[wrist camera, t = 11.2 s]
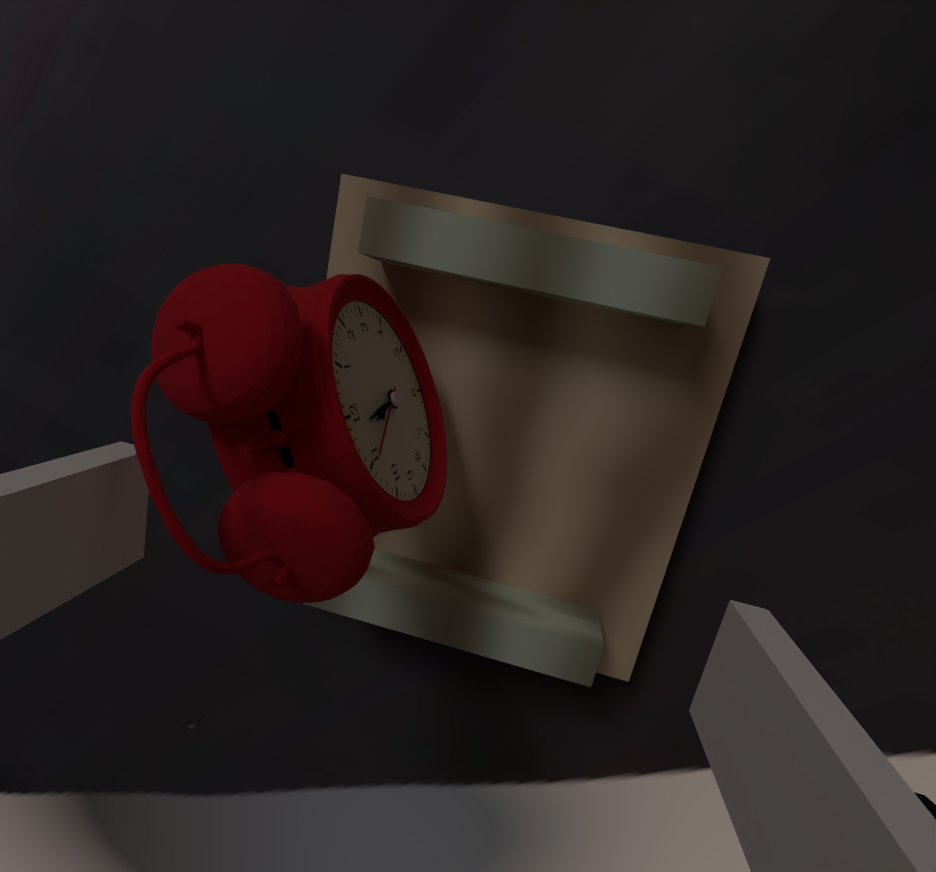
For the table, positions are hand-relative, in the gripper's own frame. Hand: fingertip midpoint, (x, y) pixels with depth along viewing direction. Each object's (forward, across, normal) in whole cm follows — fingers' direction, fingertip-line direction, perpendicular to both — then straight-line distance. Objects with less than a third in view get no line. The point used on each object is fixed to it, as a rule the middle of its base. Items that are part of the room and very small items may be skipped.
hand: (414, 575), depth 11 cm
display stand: (+16, 0, 0) cm, 17 cm away
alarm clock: (+14, -6, +1) cm, 15 cm away
